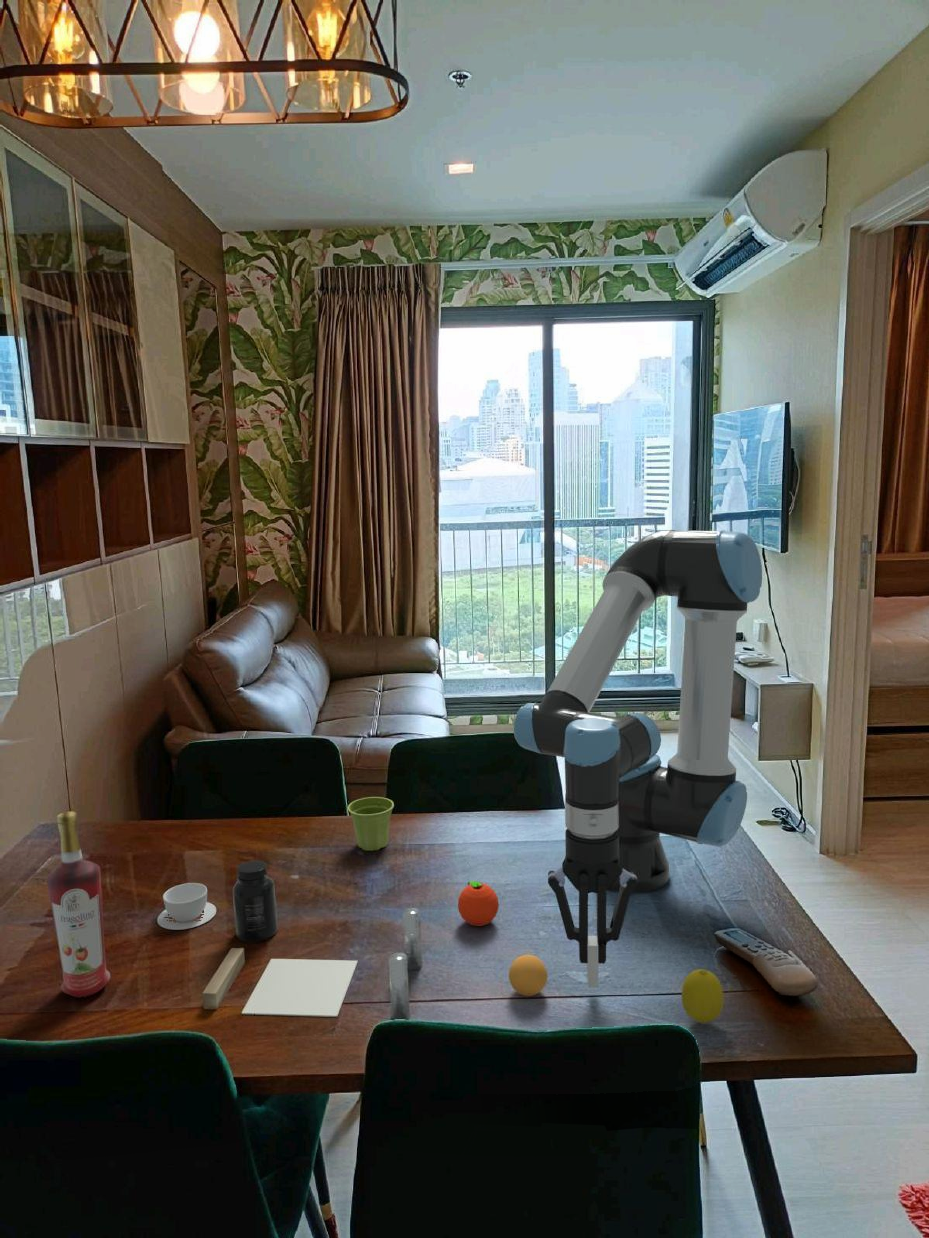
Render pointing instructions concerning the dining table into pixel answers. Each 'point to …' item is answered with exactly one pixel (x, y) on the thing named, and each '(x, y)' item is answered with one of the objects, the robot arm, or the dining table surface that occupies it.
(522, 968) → the ball
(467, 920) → the clementine
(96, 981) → the liquor
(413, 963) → the post
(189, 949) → the dining table surface
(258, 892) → the supplement bottle
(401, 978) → the post
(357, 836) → the plant pot
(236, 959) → the wall
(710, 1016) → the lemon
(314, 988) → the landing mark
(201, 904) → the teacup
